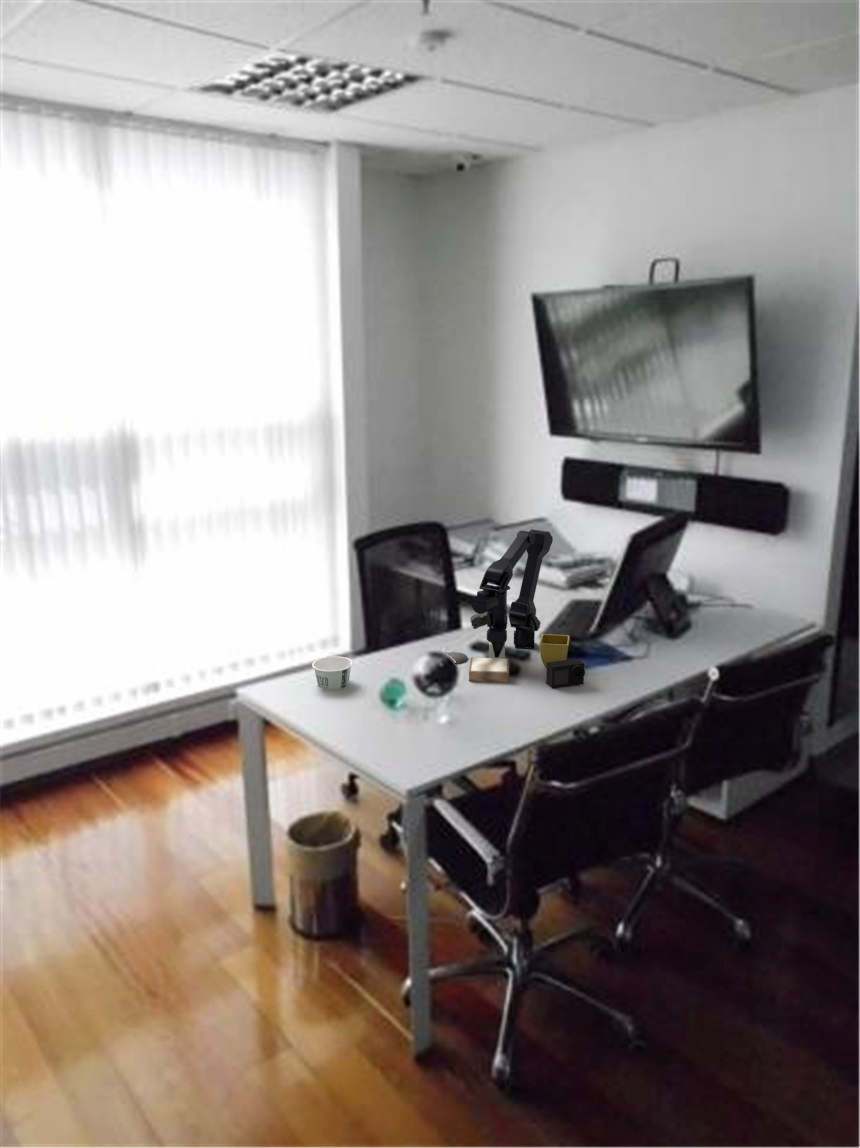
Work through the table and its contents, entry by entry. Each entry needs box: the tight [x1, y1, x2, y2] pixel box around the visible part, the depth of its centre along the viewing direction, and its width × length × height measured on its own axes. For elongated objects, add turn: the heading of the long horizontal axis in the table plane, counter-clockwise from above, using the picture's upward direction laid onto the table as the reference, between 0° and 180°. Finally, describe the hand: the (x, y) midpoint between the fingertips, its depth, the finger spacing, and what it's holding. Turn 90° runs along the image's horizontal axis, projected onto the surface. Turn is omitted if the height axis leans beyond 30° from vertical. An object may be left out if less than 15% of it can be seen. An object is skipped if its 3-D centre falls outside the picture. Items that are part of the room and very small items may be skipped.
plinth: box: [468, 656, 510, 683], centre depth 270 cm, size 12×12×3 cm
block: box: [488, 641, 506, 658], centre depth 281 cm, size 5×5×6 cm
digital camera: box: [545, 658, 586, 689], centre depth 261 cm, size 10×5×7 cm, turn 106°
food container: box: [311, 655, 353, 690], centre depth 264 cm, size 12×12×6 cm
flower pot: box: [539, 633, 571, 669], centre depth 275 cm, size 9×9×9 cm
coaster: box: [444, 651, 468, 665], centre depth 283 cm, size 9×9×1 cm
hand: (497, 652), depth 281 cm, fingers open, 9 cm apart
